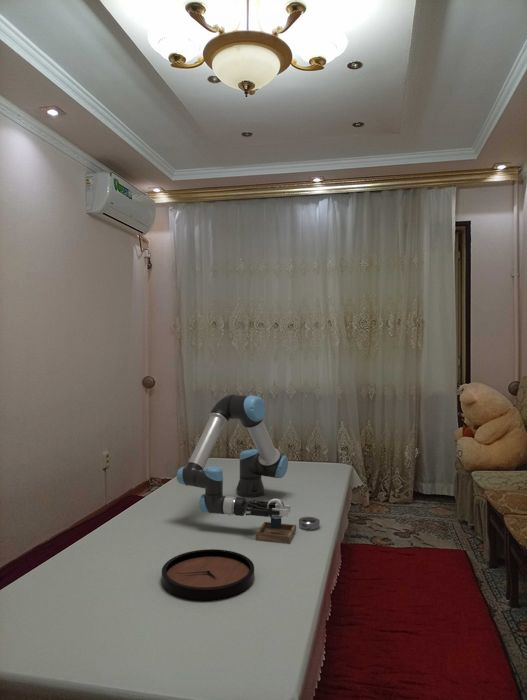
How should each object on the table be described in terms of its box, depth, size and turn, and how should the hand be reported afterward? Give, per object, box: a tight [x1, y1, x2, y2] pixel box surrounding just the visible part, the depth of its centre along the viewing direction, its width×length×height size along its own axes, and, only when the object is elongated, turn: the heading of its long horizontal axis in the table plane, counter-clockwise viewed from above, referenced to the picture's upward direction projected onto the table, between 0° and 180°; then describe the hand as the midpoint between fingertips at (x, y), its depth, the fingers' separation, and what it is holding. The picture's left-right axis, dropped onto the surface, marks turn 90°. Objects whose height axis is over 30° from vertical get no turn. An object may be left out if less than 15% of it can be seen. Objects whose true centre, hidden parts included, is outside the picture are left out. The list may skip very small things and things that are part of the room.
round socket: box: [298, 516, 320, 532], centre depth 225 cm, size 9×9×3 cm
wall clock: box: [161, 548, 255, 602], centre depth 176 cm, size 31×4×31 cm
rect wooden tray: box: [255, 521, 297, 545], centre depth 215 cm, size 14×14×3 cm
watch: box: [267, 498, 286, 528], centre depth 214 cm, size 6×8×11 cm
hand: (289, 511), depth 213 cm, fingers closed on watch, 5 cm apart
